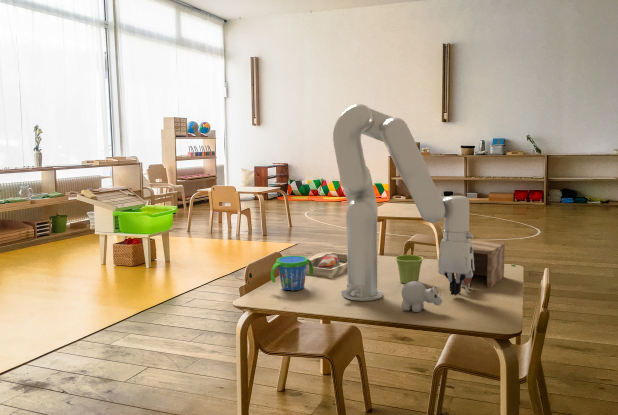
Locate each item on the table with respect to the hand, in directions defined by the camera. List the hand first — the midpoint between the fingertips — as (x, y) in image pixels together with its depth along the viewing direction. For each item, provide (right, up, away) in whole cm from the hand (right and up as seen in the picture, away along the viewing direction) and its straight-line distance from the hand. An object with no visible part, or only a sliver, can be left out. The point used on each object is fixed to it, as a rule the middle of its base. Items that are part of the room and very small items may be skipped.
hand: (455, 294), depth 168 cm
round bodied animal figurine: (-13, -3, -12) cm, 18 cm away
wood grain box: (+14, +2, +20) cm, 24 cm away
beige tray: (-37, +4, +40) cm, 55 cm away
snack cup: (-51, -1, +14) cm, 53 cm away
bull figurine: (+6, 0, +8) cm, 10 cm away
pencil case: (-38, +3, +40) cm, 55 cm away
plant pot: (-11, +1, +19) cm, 21 cm away
